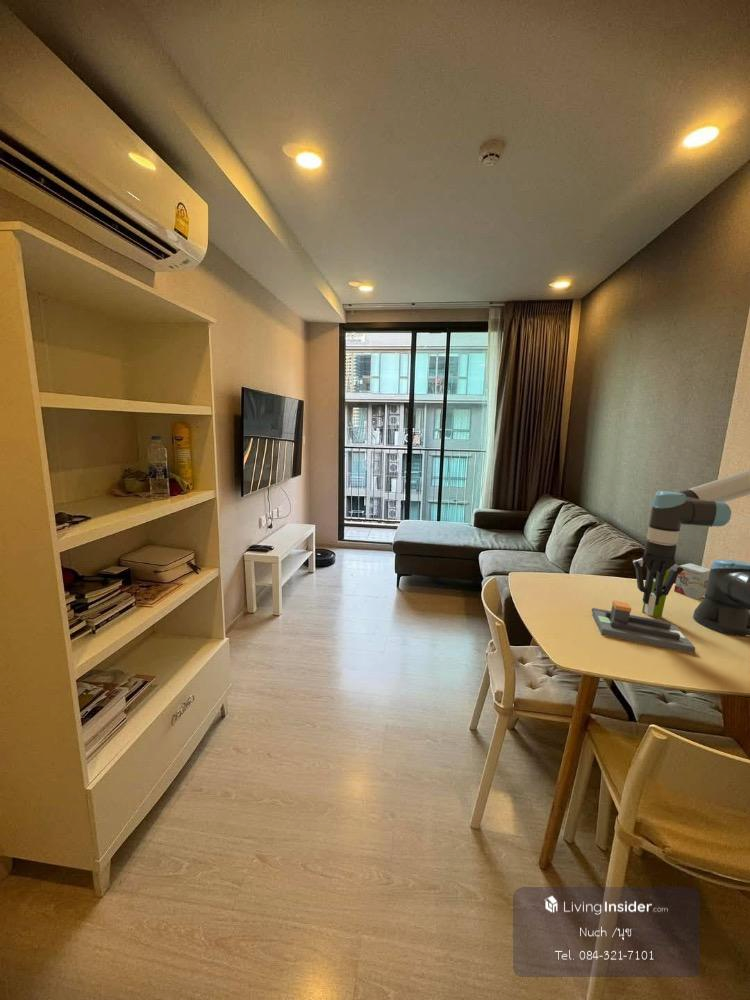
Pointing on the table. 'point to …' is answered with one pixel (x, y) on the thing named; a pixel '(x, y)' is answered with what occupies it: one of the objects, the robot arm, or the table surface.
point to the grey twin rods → (631, 615)
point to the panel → (644, 637)
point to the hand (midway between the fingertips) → (648, 613)
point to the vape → (659, 608)
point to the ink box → (692, 581)
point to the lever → (620, 611)
